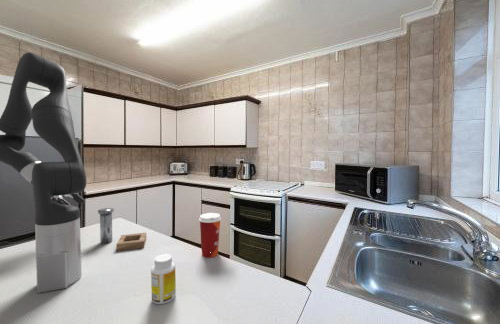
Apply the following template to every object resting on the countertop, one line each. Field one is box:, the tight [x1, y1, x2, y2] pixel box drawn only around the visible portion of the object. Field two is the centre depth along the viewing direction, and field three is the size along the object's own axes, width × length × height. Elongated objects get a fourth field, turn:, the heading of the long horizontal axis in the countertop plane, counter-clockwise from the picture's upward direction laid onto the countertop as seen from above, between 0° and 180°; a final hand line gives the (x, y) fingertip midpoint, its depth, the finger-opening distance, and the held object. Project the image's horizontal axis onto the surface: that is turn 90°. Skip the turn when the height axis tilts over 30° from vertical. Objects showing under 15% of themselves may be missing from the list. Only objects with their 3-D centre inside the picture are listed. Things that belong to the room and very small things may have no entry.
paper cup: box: [198, 212, 222, 259], centre depth 76 cm, size 8×8×14 cm
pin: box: [97, 207, 115, 245], centre depth 85 cm, size 5×5×13 cm
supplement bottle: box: [150, 253, 177, 305], centre depth 53 cm, size 6×6×10 cm
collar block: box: [115, 232, 147, 252], centre depth 84 cm, size 9×9×2 cm
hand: (76, 205), depth 83 cm, fingers open, 8 cm apart
